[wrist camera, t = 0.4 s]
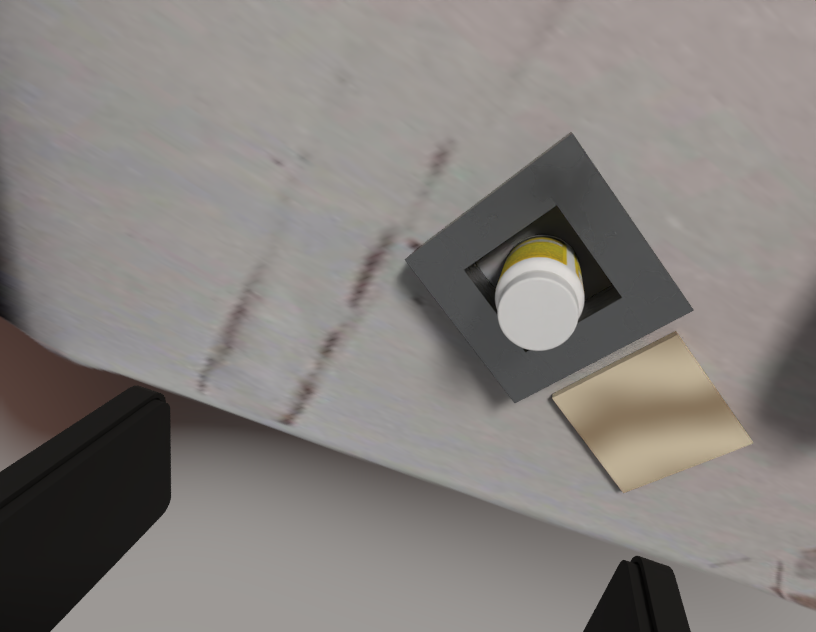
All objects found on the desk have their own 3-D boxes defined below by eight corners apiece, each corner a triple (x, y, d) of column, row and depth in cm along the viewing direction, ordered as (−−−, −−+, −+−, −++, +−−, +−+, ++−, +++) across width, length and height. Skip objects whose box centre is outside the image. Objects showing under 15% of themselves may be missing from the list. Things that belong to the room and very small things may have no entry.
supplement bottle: (490, 266, 33) (469, 309, 26) (545, 217, 31) (540, 249, 24) (538, 317, 33) (532, 374, 26) (596, 272, 31) (608, 320, 24)
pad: (750, 438, 32) (753, 443, 32) (622, 487, 36) (623, 493, 36) (675, 331, 31) (677, 334, 31) (552, 393, 35) (552, 398, 35)
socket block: (682, 293, 30) (693, 310, 28) (518, 382, 36) (514, 403, 33) (571, 131, 29) (572, 132, 26) (416, 248, 34) (404, 259, 31)
